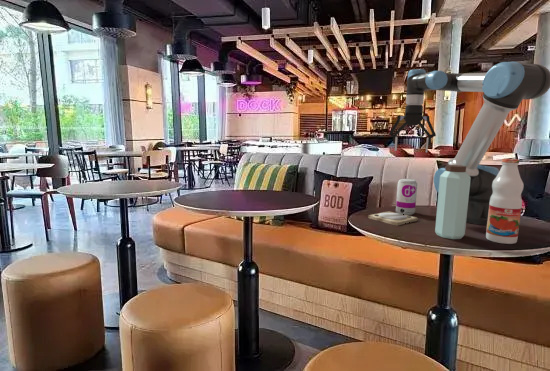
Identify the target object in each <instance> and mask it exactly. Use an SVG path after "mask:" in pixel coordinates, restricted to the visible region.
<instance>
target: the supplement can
mask: <svg viewBox="0 0 550 371" xmlns="http://www.w3.org/2000/svg"><path fill="white" fill-rule="evenodd" d="M396 186H397V189H396V202H395V203H396V204H395V213H398V214H404V215H407V216H412V215H414V214H415V213H416V205H417V204H416V203H417V195H418V193H417V192H418V182H417V180H416V179H413V178H399V180H398V182H397V185H396Z"/></svg>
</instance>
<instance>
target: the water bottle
mask: <svg viewBox="0 0 550 371" xmlns="http://www.w3.org/2000/svg"><path fill="white" fill-rule="evenodd" d="M445 167H446V169H445V172H443V173H442V174H441V175H440V182H439V193H438V192H437V194H438V195H437V205H436V215H435V216H436V217H435V226H434V227H435V229H434V232H435V234H436V235H437V236H438V237H441V238H444V239H450V240H461V239H462V238H463V237H464V236H465V234H466V227H467V222H466V218H467V209H468V199H469V189H470V179H471V177H470V176H469V175H468V174H467V172H466V167H467V166H462V165H447V164H446V165H445Z"/></svg>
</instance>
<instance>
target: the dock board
mask: <svg viewBox="0 0 550 371" xmlns="http://www.w3.org/2000/svg"><path fill="white" fill-rule="evenodd" d="M367 219H369V220H374V221H377V222H381V223H384V224H388V225H389V224H390V225H393V226H401V225H405V223H406V224H409V222H410V223H413V222H418V217H417V216H412V215H403V214H399V213H397V212H393V211H389V210H388V211H383V212H379V213H374V214H373V213H372V214H368V215H367Z"/></svg>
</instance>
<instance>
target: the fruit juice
mask: <svg viewBox="0 0 550 371" xmlns="http://www.w3.org/2000/svg"><path fill="white" fill-rule="evenodd" d="M501 164H502V165H501V167H500V169H499V173H498V175H497V177H496V178H495V179H494V180H493V182H492V190H493V193H492V195H491V197H490V202H489V212H488V221H487V225H486V230H485V231H486V232H485V238H486V239H487V240H489V241H491V242H493V243H497V244H498V243H499V244H504V245H505V244H507V245H513V244H516V243H517V242H518V237H519V230H520V221H521V214H522V209H523V208H522V207H523V199H522V193H523V191H524V188H525V187H524V182H523V180H522V178H521V174H520V172H519V167H518V165H519V164H520V159H519V158H518V159H517V158H502V159H501Z"/></svg>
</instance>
